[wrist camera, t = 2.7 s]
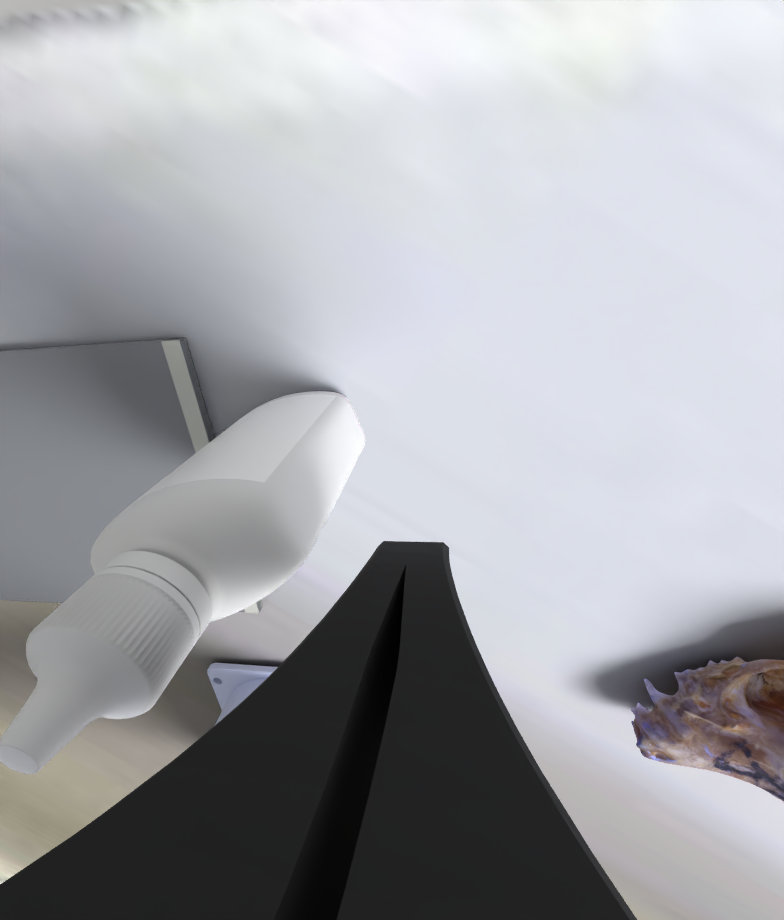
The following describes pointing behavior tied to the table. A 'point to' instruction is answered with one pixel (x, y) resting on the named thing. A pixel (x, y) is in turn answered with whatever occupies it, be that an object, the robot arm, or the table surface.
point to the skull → (720, 722)
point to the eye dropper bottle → (184, 567)
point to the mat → (86, 451)
